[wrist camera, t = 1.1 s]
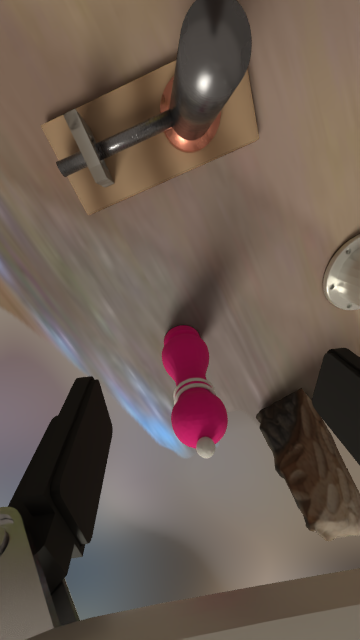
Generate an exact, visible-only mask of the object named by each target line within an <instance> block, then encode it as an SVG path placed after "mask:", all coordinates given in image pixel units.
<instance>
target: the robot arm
mask: <svg viewBox="0 0 360 640" xmlns="http://www.w3.org/2000/svg"><path fill="white" fill-rule="evenodd" d="M323 289H324V293H325V296H326V298H327V300H328V301H329V302H330V303H331V304H333V305H335V306H336V307H338V308H341V309H344V310H357V309H360V234H359V235H357V236H355V237H354V238H352V239H350V240H349V241H348V242H346V243H345V244H344V245H343V246H342V247H341V248H340V249H339V250H338V251H337V252H336V253H335V255H334V256H333V258H332V259H331V261H330V263H329V265H328V266H327V269H326V272H325V275H324V280H323ZM312 405H313V407H314V409H315V410H316V411H317V413H318V414H319V415H320V416H321V418H322V419H323V420H324V421H325V423H326V424H327V425H328V426H329V427H330V429H331V430H332V431H333V433H334V434H335V435H336V436H337V438H338V439H339V440H340V441H341V443H342V444H343V445H344V446H345V447H346V449H347V450H348V451H349V452H350V454H351V455H352V456H353V457H354V459H355V460H356V461H357V463H358V464H359V465H360V357H358V356H357V355H356V354H354V353H353V352H351V351H350V350H349V349H347V348H338V349H331V350H329V351H328V352H327V354H325V355H324V358H323V362H322V365H321V369H320V372H319V376H318V380H317V383H316V387H315V390H314V394H313V398H312ZM111 438H112V423H111V420H110V417H109V413H108V410H107V406H106V403H105V400H104V396H103V393H102V390H101V386H100V383H99V380H94V378H93V377H92V376H91V377H82V378H77V379H76V380H75V382H74V384H73V386H72V388H71V390H70V392H69V394H68V396H67V399H66V400H65V403H64V405H63V407H62V409H61V411H60V413H59V415H58V416H55V417H54V418H53V419H52V420H51V422H50V424H49V426H48V428H47V430H46V432H45V434H44V436H43V438H42V440H41V442H40V444H39V446H38V448H37V450H36V452H35V454H34V456H33V458H32V460H31V462H30V464H29V466H28V468H27V470H26V472H25V474H24V476H23V478H22V479H21V481H20V484H19V485H18V487H17V489H16V491H15V493H14V496H13V498H12V500H11V501H10V503H9V506H8V507H1V508H0V640H360V568H358V569H352V570H346V571H340V572H335V573H329V574H323V575H317V576H312V577H306V578H301V579H295V580H289V581H284V582H278V583H272V584H266V585H260V586H255V587H249V588H244V589H238V590H233V591H227V592H222V593H217V594H211V595H205V596H199V597H194V598H188V599H183V600H177V601H172V602H166V603H161V604H156V605H151V606H146V607H141V608H136V609H131V610H127V611H121V612H117V613H112V614H107V615H102V616H97V617H92V618H89V619H85V620H81V621H80V618H79V616H78V613H77V610H76V608H75V605H74V602H73V599H72V597H71V594H70V592H69V588H68V586H67V584H66V581H65V576H66V575H67V573H68V569H69V565H70V561H71V558H76V557H82V556H83V552H84V548H85V544H87V543H90V541H91V538H92V535H93V530H94V524H95V519H96V514H97V509H98V504H99V498H100V494H101V489H102V484H103V479H104V474H105V469H106V464H107V458H108V454H109V448H110V443H111Z"/></svg>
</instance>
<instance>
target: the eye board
mask: <svg viewBox="0 0 360 640" xmlns="http://www.w3.org/2000/svg"><path fill="white" fill-rule="evenodd" d="M175 66H176V60H175V61H173V62H171V63H169V64H167V65H165V66H163V67H161V68H159V69H156V70H154V71H152V72H150V73H148V74H146V75H144V76H142V77H140V78H138V79H136V80H134V81H132V82H130V83H128V84H125V85H123V86H121V87H119V88H117V89H115V90H113V91H111V92H109V93H107V94H105V95H103V96H101V97H99V98H97V99H94V100H92V101H90V102H88V103H86V104H84V105H82V106H80V107H78V108H76V109H73V110H71V111H69V112H67V113H65V114H63V115H61V116H59V117H57V118H55V119H53V120H51V121H49V122H47V123H45V124H43V125H41V127H42V129H43V131H44V133H45V135H46V137H47V139H48V141H49V143H50V145H51V146H52V148H53V150H54V152H55V154H56V156H57V158H58V160H62V159H64V158H66V157H68V156H70V155H72V154H74V153H76V152H79V151H81V153H82V155H83V157H84V160H85V162H86V164H87V166H88V167H86V168H84V169H82V170H80V171H78V172H75V173H73V174H71V175H69V176H67V177H68V179H69V180H70V182H71V184H72V186H73V188H74V190H75V192H76V194H77V196H78V198H79V199H80V201H81V203H82V205H83V207H84V209H85V211H86V213H87V215H91V214H93V213H96V212H98V211H100V210H102V209H105V208H107V207H109V206H111V205H114V204H116V203H118V202H120V201H123V200H125V199H127V198H129V197H132V196H134V195H136V194H138V193H141V192H143V191H145V190H147V189H149V188H152V187H154V186H156V185H158V184H161V183H163V182H165V181H167V180H170V179H172V178H174V177H176V176H179V175H181V174H183V173H185V172H188V171H190V170H192V169H194V168H197V167H199V166H201V165H203V164H206V163H208V162H210V161H212V160H215V159H217V158H219V157H221V156H224V155H226V154H228V153H230V152H233V151H235V150H237V149H239V148H242V147H244V146H246V145H248V144H251V143H253V142H255V141H256V140H258V139H259V135H258V129H257V123H256V117H255V111H254V105H253V99H252V93H251V87H250V81H249V75H248V69H247V71H246V73H245V75H244V77H243V79H242V80H241V82H240V83H239V85H238V86H237V88H236V89H235V91H234V92H233V94H232V95H231V97H230V98H229V100H228V101H227V103H226V104H225V106H224V107H223V108H222V110H221V119H220V124H219V127H218V130H217V132H216V134H215V136H214V137H213V139H212V140H211V141H210V143H209V144H208V145H207V146H206V147H204V148H203V149H202V150H200V151H197V152H194V153H185V152H182V151H180V150H178V149H176V148H175V147H173V146H172V145H171V144H170V142H169V141H168V140H167V138H166V136H165V135H164V132H162V133H160V134H158V135H156V136H153V137H151V138H149V139H147V140H145V141H143V142H140V143H138V144H136V145H134V146H132V147H130V148H127V149H125V150H123V151H121V152H119V153H117V154H114V155H112V156H110V157H108V158H106V159H104V160H101V161H100V158H99V156H98V154H97V152H96V150H95V147H94V144H96V143H98V142H100V141H102V140H104V139H106V138H108V137H111V136H113V135H115V134H117V133H119V132H121V131H123V130H126V129H128V128H130V127H132V126H134V125H136V124H138V123H140V122H143V121H145V120H147V119H149V118H151V117H153V116H155V115H158V114H160V104H161V98H162V94H163V92H164V89H165V87H166V85H167V84H168V82H169V81H170V80H171V78H172V77H174V73H175Z"/></svg>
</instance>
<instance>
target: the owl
mask: <svg viewBox="0 0 360 640" xmlns="http://www.w3.org/2000/svg"><path fill="white" fill-rule="evenodd" d="M256 419H257V420H258V421H259V422H260V423H261V424H260V430H261V432H262V434H263V436H264V438H265V439H266V442H267V444H268V446H269V447H270V449H271V450H272V452H273V455H274V461H275V469H276V471H277V472H278V474H279V475H280V476H281V477H282V478H284V479H285V481H286V483H287V485H288V487H289V489H290V491H291V493H292V495H293V497H294V499H295V502H296V504H297V506H298V508H299V509H300V511H301V512H302V514H303V516H304V519H305V522H306V527H307V528H308V529H309V530H310V531H316V532H317V533H318V534H319V535H320V536H321V537H322V538H323V539H324V540H326V541H331V540H334V539H335V537H340V538H343V537H347V536H360V493H359V491H358V489H357V487H356V485H355V483H354V481H353V480H352V477H351V475H350V473H349V472H348V469H347V468H346V466H345V464H344V462H343V459H342V457H341V455H340V453H339V451H338V449H337V447H336V444H335V442H334V440H333V437H332V435H331V433H330V432H329V430H328V429H327V426H326V425H325V423H324V421H323V420H322V418H321V416H320V415H319V414H318V413H317V411H316V410H315V409H314V407H313V405H312V401H311V399H310V398H309V397H308V396H307V395H306V393H305V392H304V391H303V389H302V388H301V389H299V390H298V391H296V392H294V393H292V394H291V395H289V396H286V397H285V398H283V399H282V400H280V401H278V402H275V403H273V404H272V405H271V406H270V407H267V408H264V409H262V410H261V411H260V412H259V413H258V414H257V416H256Z"/></svg>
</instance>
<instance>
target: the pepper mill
mask: <svg viewBox="0 0 360 640" xmlns="http://www.w3.org/2000/svg"><path fill="white" fill-rule="evenodd" d="M162 361H163V365H164V367H165V369H166V371H167V372H168V374H169V375H170V376H171V377H172V378H173V379H174V381H175V382H176V386H177V387H176V388H175V390H174V394H173V397H174V405H175V406H174V407H173V410H172V416H171V420H172V426H173V430H174V432H175V434H176V436H177V437H178V439H179V440H180V441H181V442H182V443H184V444H185V445H187V446H189V447H192V448H197V452H198V454H199V455H200V456H201V457H203V458H210V457H211V456H212V455H213V454H214V452H215V444H216V443H217V442H218V441H219V440H220V439H221V438H222V437H223V435H224V434H225V431H226V428H227V422H228V420H227V419H228V418H227V412H226V409H225V406H224V404H223V403H222V401H221V400H220V399H219V398H218V397H217V396H216V394H215V391H214V388H213V386H212V384H211V383H210V382H209V381H207V380H206V377H205V374H206V371H207V367H208V364H209V352H208V348H207V345H206V344H205V342H204V341H203V340H202V339H201V338H200V336H199V333H198V332H197V331H196V330H195V329H194V328H192V327H190V326H186V325H181V326H177V327H174V328H172V329H171V330H170V331H168V333H167V334H166V336H165V338H164V348H163V351H162Z"/></svg>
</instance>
